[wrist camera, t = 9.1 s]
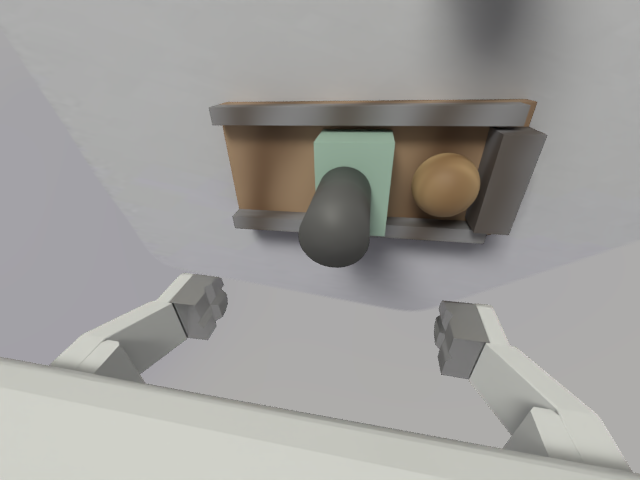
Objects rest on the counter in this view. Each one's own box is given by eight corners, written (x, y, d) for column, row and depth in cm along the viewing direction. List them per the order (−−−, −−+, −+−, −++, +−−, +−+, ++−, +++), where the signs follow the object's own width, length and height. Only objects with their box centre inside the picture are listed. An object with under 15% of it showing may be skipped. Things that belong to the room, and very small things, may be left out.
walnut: (476, 145, 20) (499, 165, 16) (462, 202, 22) (478, 230, 19) (412, 144, 21) (420, 163, 17) (404, 200, 23) (410, 226, 19)
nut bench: (526, 99, 19) (558, 107, 16) (485, 225, 25) (501, 251, 21) (227, 102, 23) (201, 109, 19) (247, 213, 28) (230, 233, 25)
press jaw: (391, 129, 20) (402, 178, 12) (383, 211, 24) (387, 293, 16) (323, 129, 21) (289, 174, 13) (324, 208, 25) (298, 285, 16)
